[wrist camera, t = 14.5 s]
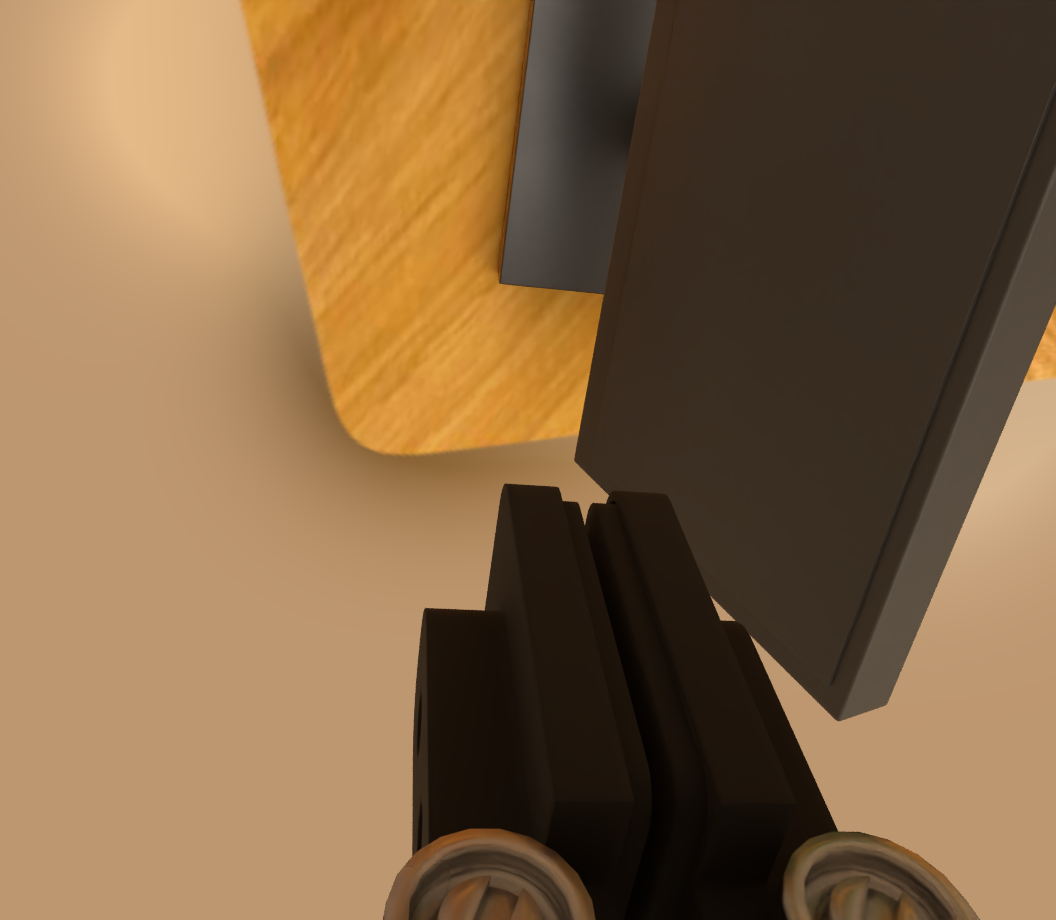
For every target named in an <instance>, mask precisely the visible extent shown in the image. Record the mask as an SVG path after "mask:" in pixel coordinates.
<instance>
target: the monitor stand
mask: <svg viewBox="0 0 1056 920" xmlns="http://www.w3.org/2000/svg"><path fill="white" fill-rule="evenodd" d="M656 1H657V0H531V3H530V11H529V20H528V28H527V36H526V44H525V53H524V61H523V69H522V77H521V86H520V94H519V102H518V110H517V118H516V127H515V135H514V143H513V151H512V160H511V168H510V176H509V184H508V193H507V201H506V209H505V217H504V226H503V234H502V242H501V250H500V259H499V267H498V277H499V283H500V284H507V285H517V286H527V287H537V288H547V289H557V290H567V291H577V292H587V293H597V294H604V291H605V286H606V280H607V275H608V269H609V263H610V258H611V252H612V247H613V241H614V236H615V230H616V224H617V219H618V213H619V208H620V202H621V197H622V191H623V185H624V180H625V174H626V169H627V163H628V158H629V152H630V146H631V141H632V135H633V130H634V124H635V119H636V113H637V107H638V102H639V96H640V91H641V85H642V80H643V74H644V68H645V63H646V57H647V52H648V46H649V40H650V35H651V29H652V24H653V18H654V13H655V7H656Z"/></svg>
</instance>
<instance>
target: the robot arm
mask: <svg viewBox="0 0 1056 920" xmlns="http://www.w3.org/2000/svg"><path fill="white" fill-rule="evenodd" d="M489 577H490V578H489V584H488V591H487V598H486V606H485V611H481V610H458V609H433V608H425V609H424V613H423V619H422V627H421V636H420V646H419V656H418V668H417V679H416V693H415V709H414V732H413V845H412V850H413V851H412V852H413V853H412V854H413V855H412V858H411V859H410V860H409V861H408V862H407V863H406V865H405V866H404V867H403V868H402V869H401V871H400V872H399V873H398V874H397V876H396V879H395V881H394V884H393V886H392V889H391V891H390V894H389V897H388V899H387V902H386V906H385V911H384V916H383V920H980V919H979V918H978V916H977V915H976V913H975V912H974V911H973V909H972V908H971V906H970V905H969V903H968V902H967V901H966V899H965V898H964V897H963V896H962V895H961V894H960V892H958V890H957V889H956V888H955V887H954V886H953V884H952V883H951V882H950V881H949V880H948V879H947V878H946V876H945V875H944V874H942V873H941V872H940V871H938V870H937V869H936V868H935V867H933V866H932V865H931V864H929V863H928V862H927V861H925V860H924V859H923V858H922V857H920V856H919V855H918V854H916V853H913V852H912V851H910V850H908V849H906V848H904V847H902V846H900V845H898V844H896V843H894V842H892V841H890V840H888V839H884V838H880V837H876V836H873V835H869V834H865V833H861V832H838V830H837V828H836V826H835V823H834V821H833V819H832V817H831V815H830V812H829V810H828V808H827V806H826V804H825V801H824V799H823V797H822V794H821V792H820V790H819V788H818V786H817V783H816V781H815V779H814V777H813V774H812V772H811V770H810V768H809V766H808V764H807V761H806V759H805V757H804V755H803V752H802V750H801V748H800V746H799V743H798V741H797V739H796V737H795V735H794V732H793V730H792V728H791V726H790V724H789V721H788V719H787V717H786V715H785V712H784V710H783V708H782V706H781V703H780V701H779V699H778V697H777V695H776V692H775V690H774V688H773V686H772V683H771V681H770V679H769V677H768V675H767V673H766V670H765V668H764V666H763V663H762V661H761V659H760V657H759V655H758V652H757V650H756V648H755V646H754V643H753V641H752V639H751V637H750V635H749V633H748V632H747V630H746V629H745V627H744V626H743V625H742V624H740V623H739V622H737V621H720V618H719V616H718V613H717V611H716V609H715V606H714V604H713V601H712V599H711V597H710V594H709V592H708V589H707V587H706V585H705V582H704V580H703V578H702V575H701V573H700V570H699V568H698V566H697V563H696V561H695V558H694V556H693V554H692V551H691V549H690V546H689V544H688V542H687V539H686V537H685V535H684V532H683V530H682V527H681V525H680V523H679V520H678V518H677V515H676V513H675V511H674V508H673V506H672V504H671V501H670V499H669V498H668V496H667V495H666V494H663V493H647V492H631V491H615V490H613V491H612V492H611V493H610V495H609V497H608V499H607V503H606V504H601V503H592V504H591V506H590V508H589V510H588V514H587V519H586V524H585V525H584V521H583V517H582V514H581V510H580V506H579V504H578V503H577V502H568V501H562V497H561V493H560V490H559V488H558V487H550V486H535V485H517V484H504V486H503V489H502V493H501V499H500V505H499V512H498V519H497V526H496V533H495V541H494V548H493V555H492V562H491V569H490V576H489Z"/></svg>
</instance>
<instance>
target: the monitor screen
mask: <svg viewBox="0 0 1056 920" xmlns="http://www.w3.org/2000/svg"><path fill="white" fill-rule="evenodd" d="M1055 305H1056V0H657V1H656V7H655V13H654V18H653V24H652V29H651V35H650V40H649V46H648V52H647V57H646V63H645V68H644V74H643V80H642V85H641V91H640V96H639V102H638V107H637V113H636V119H635V124H634V130H633V135H632V141H631V146H630V152H629V158H628V163H627V169H626V174H625V180H624V185H623V191H622V197H621V202H620V208H619V213H618V219H617V224H616V230H615V236H614V241H613V247H612V252H611V258H610V263H609V269H608V275H607V280H606V286H605V291H604V297H603V302H602V308H601V314H600V319H599V325H598V330H597V336H596V341H595V347H594V353H593V358H592V364H591V369H590V375H589V380H588V386H587V392H586V397H585V403H584V408H583V414H582V419H581V425H580V431H579V436H578V442H577V447H576V453H575V458H574V460H575V462H576V463H577V464H578V465H579V466H580V467H581V468H582V469H583V470H584V471H585V472H586V473H587V474H588V475H589V476H590V477H591V478H592V479H593V480H594V481H595V482H596V483H597V484H598V485H599V486H600V487H601V488H602V489H603V490H604V491H605V492H606V493H607V494H608V495H610V493H611V492H612V491H613V490H615V491H631V492H647V493H663V494H666V495H667V496H668V498H669V499H670V501H671V504H672V506H673V508H674V511H675V513H676V515H677V518H678V520H679V523H680V525H681V527H682V530H683V532H684V535H685V537H686V539H687V542H688V544H689V546H690V549H691V551H692V554H693V556H694V558H695V561H696V563H697V566H698V568H699V570H700V573H701V575H702V578H703V580H704V582H705V585H706V587H707V589H708V592H709V594H710V596H711V597H712V598H713V599H714V600H715V601H716V602H717V603H718V604H719V605H720V606H721V607H722V608H723V609H724V610H725V611H726V612H727V613H728V614H729V615H730V616H732V618H733V619H734V620H735V621H737V622H739V623H740V624H742V625H743V626H744V627H745V629H746V630H747V632H748V633H749V635H750V636H752V638H754V639H755V640H756V641H757V642H758V643H759V644H760V645H761V646H762V647H763V648H764V649H765V650H766V651H767V652H768V653H769V654H770V655H771V656H772V657H773V658H774V659H775V660H776V661H777V662H778V663H779V664H780V665H781V666H782V667H783V668H784V669H785V670H786V671H787V672H788V673H789V674H790V675H791V676H792V677H793V678H794V679H795V680H796V681H797V682H798V683H799V684H800V685H801V686H802V687H803V688H804V689H805V690H806V691H807V692H808V693H809V694H810V695H811V696H812V697H813V698H814V699H815V700H816V701H817V702H818V703H819V704H820V705H821V706H822V707H823V708H824V709H825V710H826V711H827V712H828V713H829V714H830V715H831V716H832V717H833V718H834V719H835V720H837V721H842V720H845V719H847V718H850V717H853V716H856V715H859V714H862V713H865V712H868V711H871V710H874V709H877V708H879V707H882V706H885V705H886V704H887V703H888V701H889V698H890V696H891V693H892V691H893V689H894V686H895V684H896V682H897V679H898V677H899V674H900V672H901V670H902V667H903V665H904V663H905V660H906V658H907V656H908V653H909V651H910V648H911V646H912V644H913V641H914V639H915V637H916V634H917V632H918V629H919V627H920V625H921V622H922V620H923V618H924V615H925V613H926V611H927V608H928V606H929V603H930V601H931V599H932V596H933V594H934V592H935V589H936V587H937V585H938V582H939V580H940V577H941V575H942V572H943V570H944V568H945V566H946V563H947V561H948V558H949V556H950V554H951V551H952V549H953V547H954V544H955V542H956V540H957V537H958V534H959V533H960V530H961V528H962V525H963V523H964V521H965V518H966V516H967V513H968V511H969V509H970V506H971V504H972V501H973V499H974V497H975V495H976V492H977V490H978V488H979V485H980V483H981V480H982V478H983V476H984V473H985V471H986V468H987V466H988V464H989V462H990V459H991V457H992V454H993V452H994V450H995V447H996V445H997V443H998V440H999V438H1000V436H1001V433H1002V431H1003V428H1004V426H1005V424H1006V421H1007V419H1008V416H1009V414H1010V412H1011V409H1012V407H1013V405H1014V402H1015V400H1016V398H1017V395H1018V393H1019V391H1020V388H1021V386H1022V383H1023V381H1024V379H1025V376H1026V374H1027V372H1028V369H1029V367H1030V365H1031V362H1032V360H1033V357H1034V355H1035V353H1036V350H1037V348H1038V346H1039V343H1040V341H1041V339H1042V336H1043V334H1044V331H1045V329H1046V327H1047V324H1048V322H1049V320H1050V317H1051V315H1052V312H1053V310H1054V308H1055Z"/></svg>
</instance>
